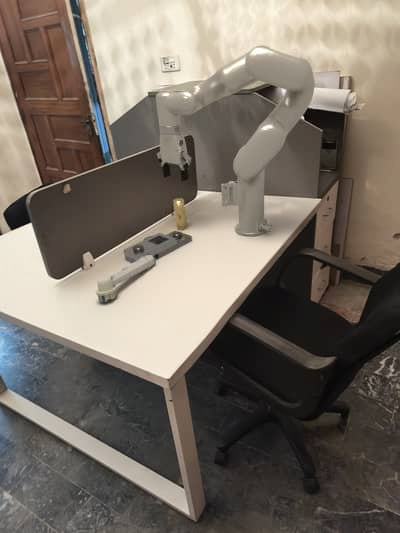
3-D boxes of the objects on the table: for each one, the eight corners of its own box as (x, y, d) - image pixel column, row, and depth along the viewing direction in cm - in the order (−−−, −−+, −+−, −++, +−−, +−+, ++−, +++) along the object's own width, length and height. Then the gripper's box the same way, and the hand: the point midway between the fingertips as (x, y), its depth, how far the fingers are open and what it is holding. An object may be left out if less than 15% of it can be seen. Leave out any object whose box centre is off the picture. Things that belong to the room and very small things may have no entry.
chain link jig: (175, 235, 142) (173, 223, 139) (192, 240, 136) (190, 228, 134) (125, 260, 127) (122, 247, 125) (141, 267, 121) (139, 254, 119)
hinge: (221, 206, 165) (220, 184, 160) (224, 202, 169) (222, 181, 164) (252, 206, 161) (252, 184, 156) (254, 202, 166) (253, 180, 161)
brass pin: (188, 227, 147) (185, 199, 141) (181, 231, 144) (178, 202, 138) (182, 225, 149) (178, 197, 143) (174, 229, 147) (171, 200, 141)
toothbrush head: (156, 254, 120) (102, 280, 100) (159, 273, 122) (106, 303, 102) (144, 253, 123) (88, 278, 103) (146, 271, 125) (93, 300, 105)
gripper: (195, 129, 125) (199, 179, 134) (162, 127, 136) (167, 172, 145) (180, 134, 121) (185, 184, 129) (146, 130, 131) (153, 177, 140)
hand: (175, 178), depth 137 cm, fingers open, 9 cm apart
